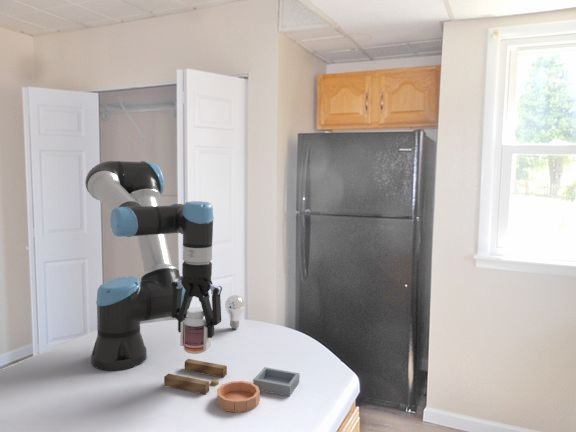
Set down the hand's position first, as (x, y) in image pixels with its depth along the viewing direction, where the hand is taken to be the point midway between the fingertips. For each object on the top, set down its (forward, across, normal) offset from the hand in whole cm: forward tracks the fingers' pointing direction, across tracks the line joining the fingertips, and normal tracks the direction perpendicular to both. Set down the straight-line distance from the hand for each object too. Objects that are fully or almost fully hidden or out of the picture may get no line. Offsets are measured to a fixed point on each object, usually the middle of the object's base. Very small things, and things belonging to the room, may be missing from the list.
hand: (195, 346), depth 125 cm
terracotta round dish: (+9, +16, -6) cm, 19 cm away
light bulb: (+10, -6, +38) cm, 40 cm away
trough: (+9, +22, +4) cm, 24 cm away
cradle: (+9, +1, 0) cm, 9 cm away
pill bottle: (+1, 0, 0) cm, 1 cm away
